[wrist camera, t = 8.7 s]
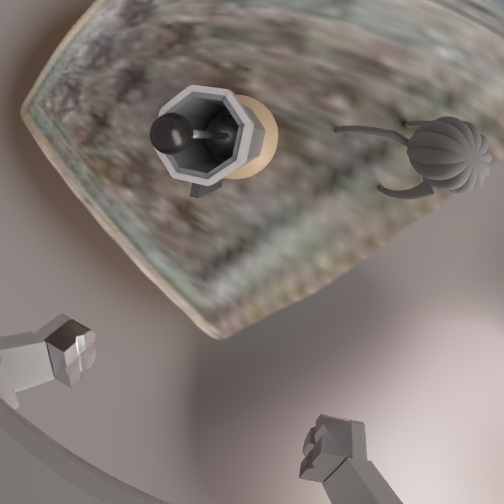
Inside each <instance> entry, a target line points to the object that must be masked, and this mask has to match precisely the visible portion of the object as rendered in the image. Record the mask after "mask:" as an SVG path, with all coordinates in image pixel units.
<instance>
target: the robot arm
mask: <svg viewBox="0 0 504 504" xmlns="http://www.w3.org/2000/svg"><path fill="white" fill-rule="evenodd" d="M95 340H96V338H95V332H93V331H92V330H90V329H89V328H87V327H85V326H84V325H82V324H80V323H78V322H77V321H75V320H73V319H71V318H69V317H68V316H66V315H64V314H60V315H58V316H57V317H56V318H54V319H53V320H51V321H50V322H49V323H47V324H46V325H45V326H43V327H42V328H41V329H39V330H38V331H37V332H36V333H32V332H28V333H22V334H16V335H9V336H3V337H0V504H171V503H169V502H166V501H164V500H162V499H159V498H157V497H154V496H152V495H150V494H148V493H145V492H143V491H141V490H139V489H137V488H135V487H133V486H131V485H128V484H126V483H124V482H123V481H120V480H119V479H117V478H115V477H113V476H111V475H109V474H107V473H106V472H104V471H102V470H100V469H98V468H97V467H95V466H93V465H91V464H90V463H88V462H86V461H85V460H83V459H82V458H80V457H79V456H77V455H75V454H74V453H72V452H71V451H69V450H68V449H66V448H65V447H63V446H62V445H60V444H59V443H57V442H56V441H55V440H53V439H52V438H50V437H49V436H47V435H46V434H45V433H44V432H42V431H41V430H40V429H38V428H37V427H36V426H34V425H33V424H32V423H31V422H29V421H28V420H27V419H26V418H24V417H23V416H22V415H21V414H20V413H18V412H17V411H16V410H15V409H16V408H17V407H18V406H19V401H18V398H17V396H16V394H15V392H18V391H21V390H24V389H27V388H30V387H33V386H36V385H39V384H42V383H45V382H48V381H50V380H53V379H54V378H56V379H57V380H59V381H61V382H62V383H64V384H65V385H67V386H69V387H70V388H73V386H74V385H75V384H76V383H77V382H78V381H79V380H80V379H81V378H82V372H85V371H89V370H90V369H91V367H92V366H93V365H94V363H95V361H96V357H97V349H96V347H95V345H94V343H93V342H94V341H95ZM366 451H367V450H366V434H365V424H364V423H363V422H359V421H353V420H348V419H343V418H338V417H333V416H328V415H323V414H321V415H320V416H319V417H318V418H317V420H316V426H315V427H313V428H311V429H310V431H309V432H308V434H307V436H306V439H305V442H304V446H303V454H304V455H305V458H304V460H303V461H302V462H301V467H300V475H299V478H301V479H306V480H310V481H316V482H321V483H322V484H323V486H324V488H325V491H326V493H327V495H328V497H329V499H330V501H331V503H332V504H403V503H402V502H401V500H400V499H399V498H398V496H397V495H396V494H395V492H394V491H393V490H392V488H391V487H390V486H389V484H388V483H387V482H386V480H385V479H384V478H383V476H382V475H381V474H380V473H379V471H378V470H377V468H376V467H375V466H374V464H373V463H372V462H371V461H368V460H367V452H366Z"/></svg>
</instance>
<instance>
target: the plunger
mask: <svg viewBox="0 0 504 504" xmlns="http://www.w3.org/2000/svg"><path fill="white" fill-rule="evenodd" d="M238 128H239V125H238V124H237V122H236V121H235V119H234V118H233V116H232V115H221V116H218V117H216V118H214V119H213V120H212V121H211V122H210V123H209V125H208V126H207V129H206V131H202V130H193V126H192V124H191V122H190V120H189V119H188V118H187V117H185V116H184V115H182V114H180V113H175V112H171V113H166V114H163V115H161V116H160V117H159V118H157V119H156V120H155V122H154V123H153V125H152V127H151V131H150V139H151V142H152V144H153V146H154V147H155V148H156V149H157V150H158V151H159V152H161V153H163V154H166V155H175V154H179V153H181V152H183V151H184V150H185V149H187V148H188V146H189V145H190V144H191V142H192V139H205V141H206V144H207V146H208V148H209V149H210V151H211V152H212V153H214V154H215V155H217V156H220V157H232V155H233V151H234V146H235V142H236V137H237V132H238Z"/></svg>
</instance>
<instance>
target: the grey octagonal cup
mask: <svg viewBox="0 0 504 504" xmlns="http://www.w3.org/2000/svg"><path fill="white" fill-rule="evenodd" d="M171 112H175V113H180V114H182V115H184V116H185V117H187V118H188V119H189V120H190V122H191V124H192V126H193V130H202V131H206V129H207V126H208V125H209V123H210V122H211V121H212V120H213V119H214V118H216V117H218V116H221V115H232V116H233V118H234V119H235V121H236V122H237V124H238V125H239V128H238V132H237V137H236V142H235V146H234V151H233V155H232V157H220V156H217V155H215V154H214V153H212V152H211V151H210V149H209V148H208V146H207V144H206V141H205V139H192V142H191V144H190V145H189V146H188V148H187V149H185V150H184V151H183V152H181V153H179V154H175V155H166V154H163V153H161V152H159V151H158V150H157V149H156V148H155V147H154V149H155V150H156V152H157V154H158V155H159V157H160V158H161V160H162V162H163V163H164V165H165V167H166V168H167V170H168V171H169V173H170V175H171V176H172V177H173V178H175V179H179V180H184V181H188V182H192V188H191V194H190V196H191V197H195V198H199V197H202V196H204V195H206V194H208V193H210V192H212V191H214V190H216V189H219V188H221V186H222V181H223V178H228V179H242V178H247V177H250V176H252V175H254V174H256V173H258V172H259V171H261V170H262V169H263V168H265V167H266V166H267V165H268V163H269V162H270V161H271V159H272V158H273V156H274V154H275V152H276V149H277V145H278V128H277V124H276V121H275V119H274V117H273V115H272V113H271V112H270V111H269V109H268V108H267V107H266V106H265V105H263V104H262V103H261V102H259V101H258V100H256V99H254V98H252V97H249V96H245V95H235V94H234V93H233V92H232V91H230V90H228V89H221V88H213V87H206V86H197V85H191V86H188V87H187V88H186V89H184V90H183V91H182V92H180V93H179V94H178V95H177V96H175V97H174V98H173V99H172V100H170V101H169V102H168V103H167V104H165V105H164V106H163V107H162V108H161V110H160V111H159V117H160V116H161V115H163V114H166V113H171ZM159 117H158V118H159Z"/></svg>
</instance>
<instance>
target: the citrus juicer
mask: <svg viewBox="0 0 504 504" xmlns="http://www.w3.org/2000/svg"><path fill="white" fill-rule="evenodd" d="M404 126H405V127H406V128H408V127H419V128H418V129H417V130H416V131H415V133H414V135H413V136H412V137H411V138H410V140H409V139H407V138H406V137H404V136H403V135H401V134H399V133H398V132H396V131H392V130H387V129H381V128H374V127H365V126H342V127H337V128H336V129H335V132H336V133H342V132H356V133H365V134H372V135H378V136H383V137H387V138H391V139H395V140H397V141H398V142H400V143H402V144H403V145H405V146H407V147H408V149H407V154H408V156H409V160H410V162H411V165H412V166H413V168H414V169H415V170H416V171H417V172H418V173H419V174H420V175H422V176H423V182H422V183H421V184H419V185H418V186H416V187H414V188H412V189H408V190H402V191H395V190H390V189H387V188H384V187H383V186H380V187H379V190H380V191H381V192H382V193H384V194H386V195H388V196H391V197H394V198H398V199H418V198H423V197H427V196H431V195H433V194H435V190H434V187H436V188H437V189H440V190H448V191H450V192H453V193H466V192H468V191H470V190H471V189H475V188H478V187H480V186H481V185H482V184H483V181H484V177H486V176H488V175H489V173H490V165H489V163H490V162H491V159H492V155H491V152H490V151H489V150H488V141H487V139H486V138H485V137H484V136H483V135H482V134H480V132H479V130H478V129H477V127H476V126H474V125H473V124H472V123H469V122H466V121H461V120H459V119H457V118H454V117H441V118H438V119H436V120H434V121H411V122H406V123H405V124H404Z"/></svg>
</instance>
